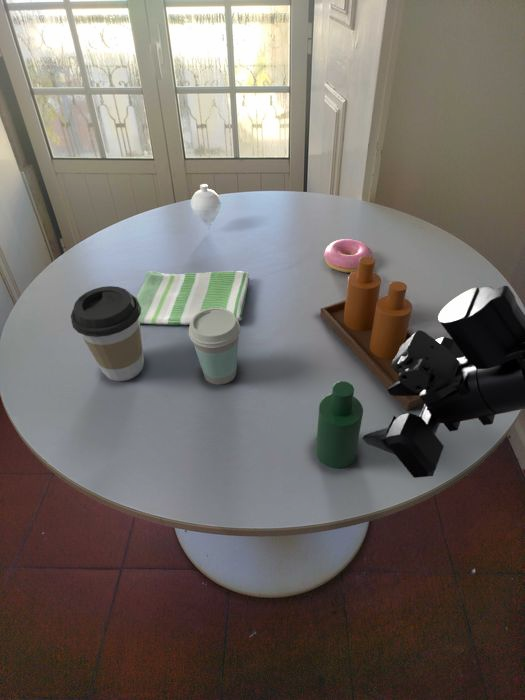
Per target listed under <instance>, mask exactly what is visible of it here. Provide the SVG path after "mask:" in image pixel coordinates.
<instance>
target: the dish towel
mask: <svg viewBox="0 0 525 700" xmlns="http://www.w3.org/2000/svg"><path fill="white" fill-rule="evenodd" d="M249 276H250V274H249V272H246V271H243V270H238V271H237V270H234V271H209V272H208V271H207V272H190V273H182V274H177V273H176V274H175V273H162V272H157V271H153V270H149V271H147V272H146V275H145V278H144V281H143V285H142V287H141V288H140V290H139V292H138V293H137V296H135V297H136V298H137V300H138V302H139V304H140V306H141V314H140V316H139V320H140V324H144V325H145V324H148V325H170V326H174V325H177V326H180V325H185V326H188V325H189V326H190V324H191V320H192V318H193V317H194V316H195V315H196V314H197V313H199V312H200V311H202V310H205V309H209V308H223V309H226V310H229V311H230V312H232V313H233V314H234V315H235V317H236V319H237V320H238V322H240V321H242V320H243V313H244V308H245V302H246V298H247V291H248V287H249V283H250V277H249Z"/></svg>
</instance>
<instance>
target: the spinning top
mask: <svg viewBox="0 0 525 700" xmlns="http://www.w3.org/2000/svg"><path fill="white" fill-rule="evenodd" d="M199 188H200V189H198V190H196V191H195V192H194V194H193V195H192V197H191V199H190V207H191V210H192V212H193V213H194V215H195V216H196V218H198V220H199V221H200V222H202V223H203V224H204V225H205V226H206V227H207V229H208V230H210V226H212V225H213V223H214V221H215V220H216V219H217V217H218V215H219V213H220V210H221V206H222V201H221V197H220V196H219V195H218V193H217V192H216V191H214V190H213V189H210V188H209V187H208V184H207V183H202V184H200V185H199Z"/></svg>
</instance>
